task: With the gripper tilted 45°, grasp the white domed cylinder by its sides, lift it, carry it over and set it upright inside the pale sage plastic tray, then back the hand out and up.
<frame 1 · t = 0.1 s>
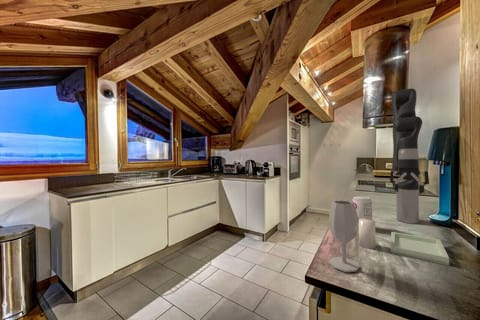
hand: (408, 192, 96), 17 cm above the table, tool pointing down, fingers open, 8 cm apart
supplement can: (362, 228, 99), on the table
wineglass: (344, 266, 66), on the table
tray: (415, 249, 76), on the table
white domed cylinder: (367, 245, 80), on the table
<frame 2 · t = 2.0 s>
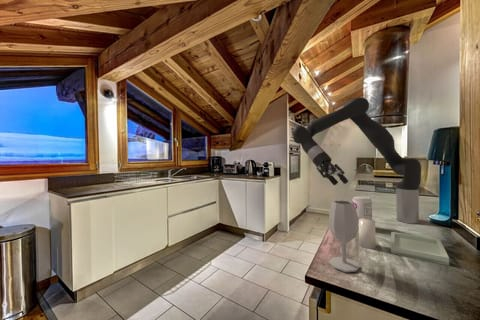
hand: (341, 183, 89), 24 cm above the table, tool tilted 45°, fingers open, 8 cm apart
nothing on the table moved.
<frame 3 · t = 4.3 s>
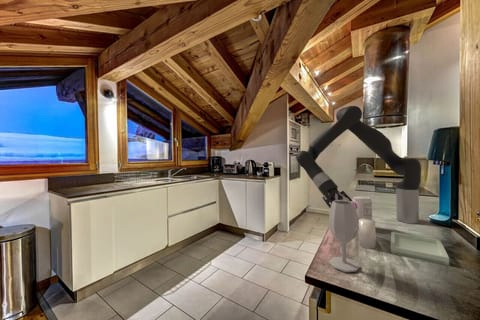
hand: (349, 213, 86), 11 cm above the table, tool tilted 45°, fingers open, 8 cm apart
nothing on the table moved.
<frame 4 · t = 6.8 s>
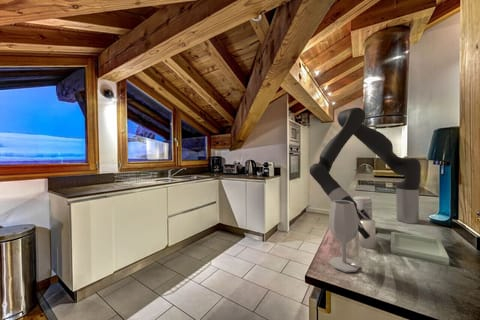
hand: (371, 235, 79), 4 cm above the table, tool tilted 45°, fingers closed on white domed cylinder, 5 cm apart
white domed cylinder: (367, 245, 80), on the table, touching gripper
everything else where it was.
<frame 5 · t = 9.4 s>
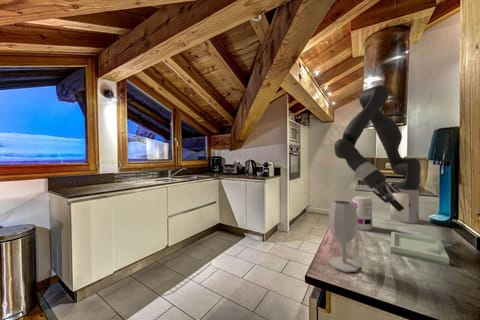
hand: (405, 208, 76), 16 cm above the table, tool tilted 45°, fingers closed on white domed cylinder, 5 cm apart
white domed cylinder: (399, 219, 77), point 11 cm above the table, touching gripper
everything else where it was.
when the fingers open (7 cm above the table, at t = 12.0 s): white domed cylinder drops 1 cm, resting on tray.
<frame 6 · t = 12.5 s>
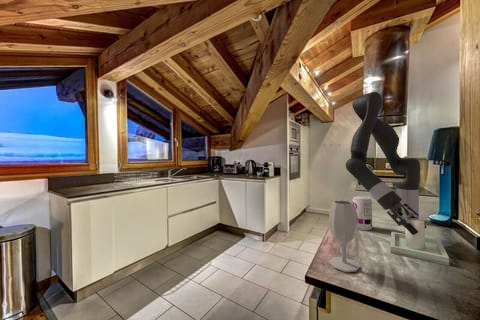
hand: (420, 231, 75), 7 cm above the table, tool tilted 45°, fingers open, 8 cm apart
white domed cylinder: (415, 246, 76), point 1 cm above the table, touching tray
everything else where it was.
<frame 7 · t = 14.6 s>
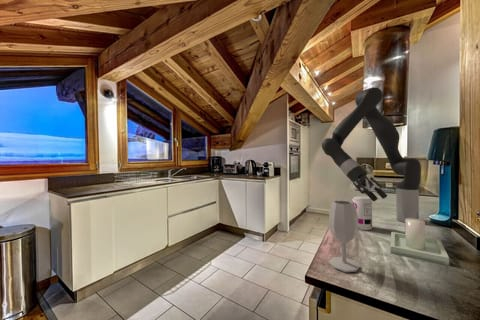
hand: (380, 198, 85), 17 cm above the table, tool tilted 45°, fingers open, 8 cm apart
nothing on the table moved.
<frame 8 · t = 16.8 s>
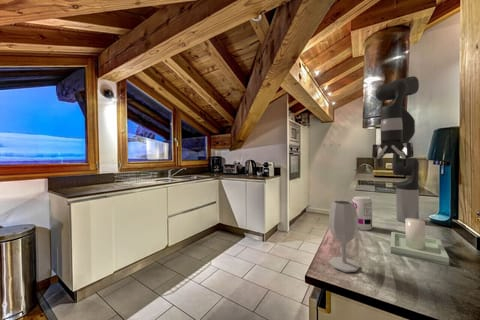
hand: (391, 167, 87), 30 cm above the table, tool pointing down, fingers open, 8 cm apart
nothing on the table moved.
at the end: white domed cylinder inside the target area on the tray (0.2 cm from its centre), point 1.0 cm above the tray's base; white domed cylinder tilted 0°; the gripper is holding nothing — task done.
